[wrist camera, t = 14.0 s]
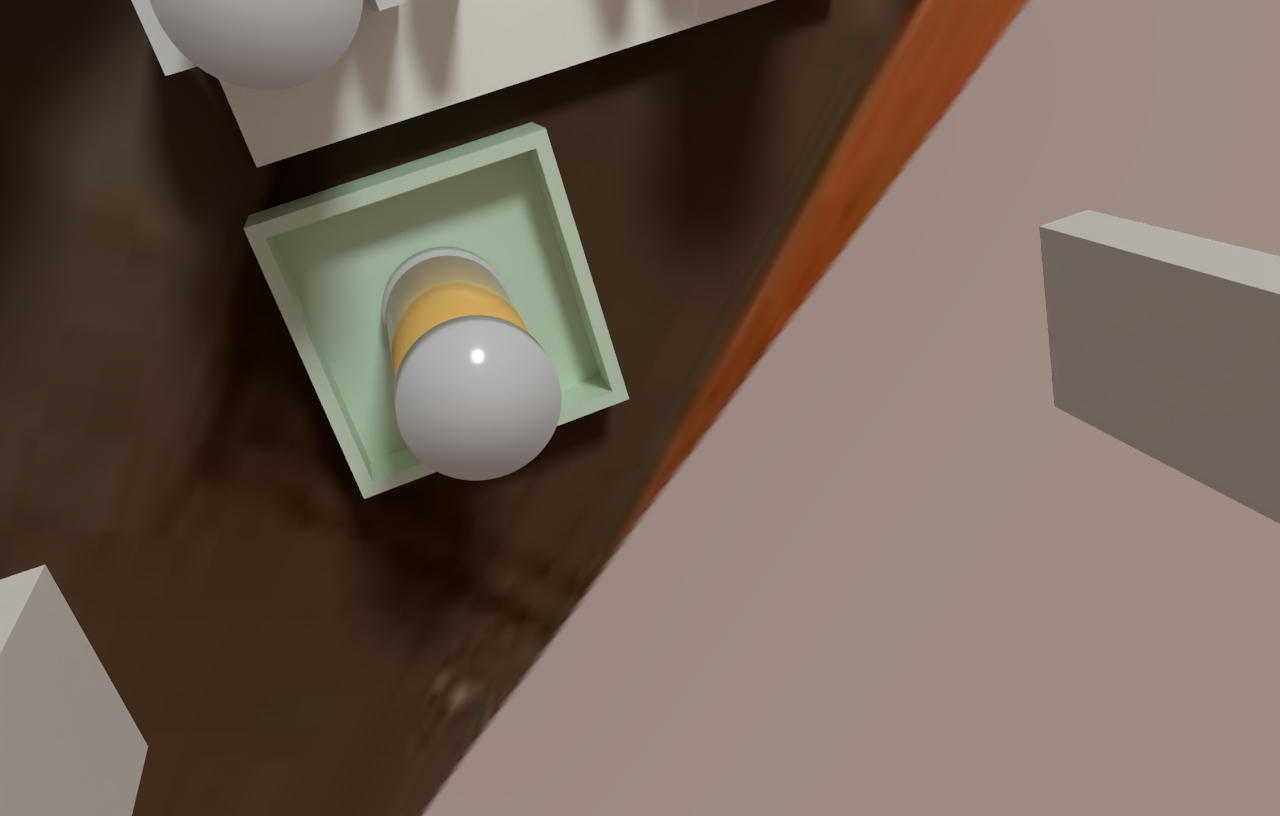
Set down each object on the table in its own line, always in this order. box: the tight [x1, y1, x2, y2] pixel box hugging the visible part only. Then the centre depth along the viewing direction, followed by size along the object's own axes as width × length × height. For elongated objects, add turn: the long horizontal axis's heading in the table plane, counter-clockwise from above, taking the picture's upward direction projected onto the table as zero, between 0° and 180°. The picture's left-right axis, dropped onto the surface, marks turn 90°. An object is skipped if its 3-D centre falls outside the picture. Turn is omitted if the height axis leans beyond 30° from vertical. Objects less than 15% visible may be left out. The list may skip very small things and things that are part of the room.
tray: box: [244, 122, 629, 499], centre depth 36 cm, size 10×10×2 cm
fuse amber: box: [382, 247, 562, 481], centre depth 32 cm, size 4×4×10 cm
